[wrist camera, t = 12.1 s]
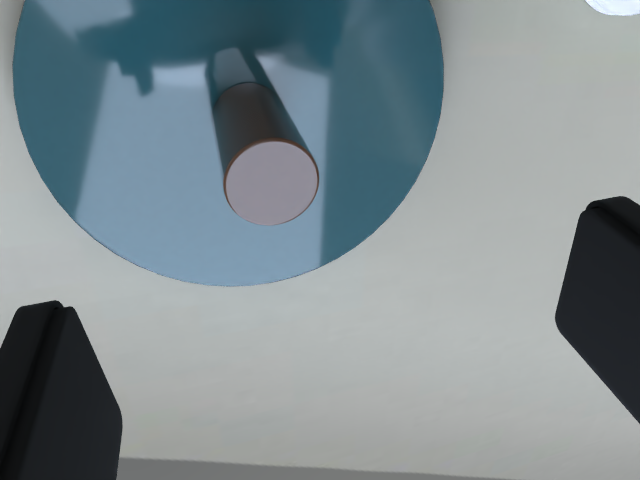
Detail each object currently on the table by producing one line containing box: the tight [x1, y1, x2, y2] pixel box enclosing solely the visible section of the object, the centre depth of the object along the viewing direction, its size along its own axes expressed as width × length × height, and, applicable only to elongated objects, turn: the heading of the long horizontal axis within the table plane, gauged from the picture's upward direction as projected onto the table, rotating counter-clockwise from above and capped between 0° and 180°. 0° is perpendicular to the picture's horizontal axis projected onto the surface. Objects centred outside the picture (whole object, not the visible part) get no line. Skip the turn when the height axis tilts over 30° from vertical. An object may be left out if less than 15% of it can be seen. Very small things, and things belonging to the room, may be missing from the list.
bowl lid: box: [12, 0, 444, 286], centre depth 16 cm, size 14×14×6 cm
